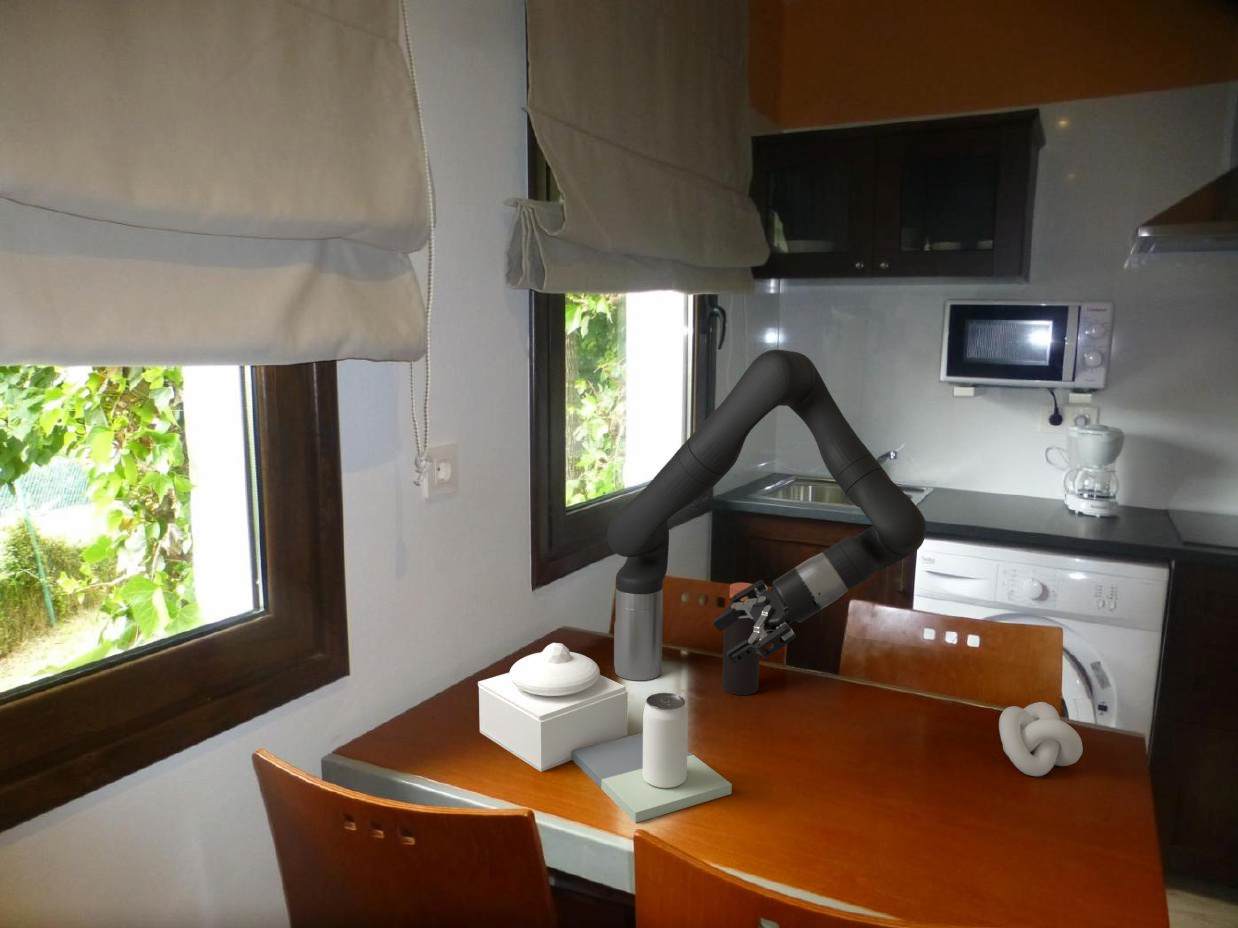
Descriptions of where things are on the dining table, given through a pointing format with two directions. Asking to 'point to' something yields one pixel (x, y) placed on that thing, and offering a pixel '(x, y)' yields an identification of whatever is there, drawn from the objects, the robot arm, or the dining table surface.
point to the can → (665, 740)
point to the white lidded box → (552, 707)
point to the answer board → (625, 785)
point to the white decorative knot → (1038, 738)
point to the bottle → (746, 672)
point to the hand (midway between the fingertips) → (722, 642)
